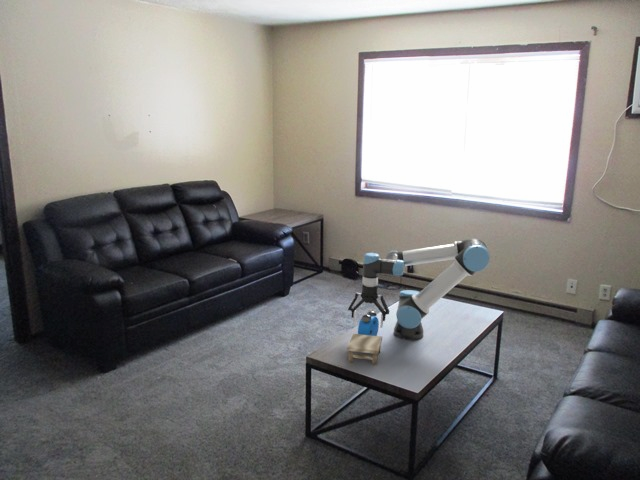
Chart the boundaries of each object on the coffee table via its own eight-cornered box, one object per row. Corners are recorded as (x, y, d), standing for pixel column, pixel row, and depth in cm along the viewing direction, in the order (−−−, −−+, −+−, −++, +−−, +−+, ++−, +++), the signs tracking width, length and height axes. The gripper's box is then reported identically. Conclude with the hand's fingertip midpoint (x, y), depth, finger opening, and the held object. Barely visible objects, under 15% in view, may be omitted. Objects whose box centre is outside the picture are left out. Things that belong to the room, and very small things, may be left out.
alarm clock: (367, 335, 276) (368, 307, 272) (378, 337, 273) (380, 309, 269) (357, 344, 265) (357, 315, 261) (368, 347, 262) (369, 318, 258)
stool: (381, 351, 258) (382, 336, 256) (377, 366, 242) (378, 350, 241) (352, 347, 261) (353, 333, 259) (346, 362, 246) (347, 347, 244)
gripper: (396, 284, 263) (393, 325, 268) (346, 279, 268) (344, 319, 273) (394, 289, 256) (392, 330, 261) (343, 284, 261) (341, 325, 266)
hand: (367, 325), depth 267 cm, fingers open, 13 cm apart
